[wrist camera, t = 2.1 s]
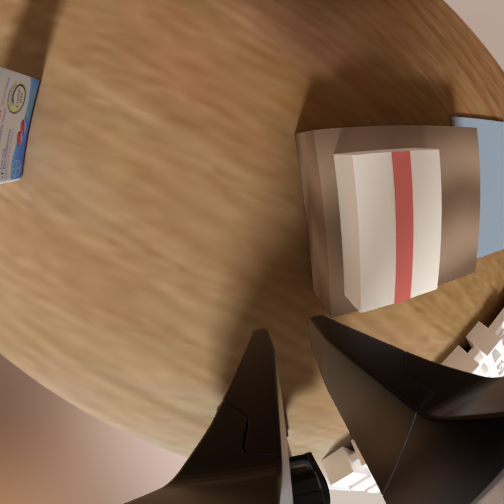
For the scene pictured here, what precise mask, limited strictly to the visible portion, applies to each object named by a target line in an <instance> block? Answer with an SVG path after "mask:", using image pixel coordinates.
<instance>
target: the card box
mask: <svg viewBox="0 0 504 504" xmlns="http://www.w3.org/2000/svg"><path fill="white" fill-rule="evenodd" d="M333 155H334V163H335V171H336V180H337V189H338V199H339V210H340V222H341V235H342V250H343V269H344V295H345V296H346V297H347V298H348V300H349V301H350V302H351V303H352V304H353V305H354V306H355V308H356V309H357V310H358V311H359V312H360V313H363V312H367V311H370V310H373V309H377V308H380V307H383V306H387V305H390V304H393V303H395V304H396V303H399V302H402V301H406V300H409V299H410V298H412V297H415V296H418V295H421V294H424V293H427V292H430V291H432V290H435V289H437V285H438V275H439V263H440V248H441V221H442V195H441V169H440V154H439V149H426V148H402V149H386V150H373V151H361V152H350V153H340V154H333Z"/></svg>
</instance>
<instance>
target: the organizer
mask: <svg viewBox="0 0 504 504" xmlns="http://www.w3.org/2000/svg"><path fill="white" fill-rule="evenodd" d="M466 339H467V341H468V343H469V345H470V347H471V350H470V351H469V352H468V353H467V352H466V351H465V350H464V349H462V348H461V347H460V346H459V345H458V346H457V347H456V348H455V349H454V350H453V351H452V353H451V354H450V355H449V356H448V357H447V358H446V359H445V360H444V361H443V362H442V363H441V364H442V365H445V366H448V367H451V368H455V369H458V370H462V371H465V372H469V373H473V374H476V375H480V376H484V377H502V376H504V308H503V309H502V311H501V312H500V313H499V315H498V316H497V317H496V319H495V320H494V321H493V322H492V324H491V325H490V326H489V328H487V327H486V326H485V325H483V324H482V323H481V322H480V321H478V323H477V324H476V325H475V326H474V328H473V329H472V330H471V331H470V332H469V333H468V335H467V336H466ZM351 443H352V445H353V447H354V450H355V451H353V450H350V449H348V448H345V447H343V446H342V447H341V448H339V449H338V450H336V451H335V452H333V453H332V454H330V455H329V456H327V457H326V458H324V459H323V460H322V462H323V465H324V468H325V471H326V473H327V476H328V479H329V482H330V484H331V485H332V486H336V487H341V488H346V487H348V486H349V488H350V489H352V490H358V491H363V490H366V492H371V493H377V492H379V491H380V490H379V488H378V486H377V484H376V482H375V480H374V478H373V476H372V474H371V472H370V470H369V468H368V467H367V465H366V463H365V461H364V459H363V457H362V455H361V453H360V451H359V449H358V447H357V445H356V443H355V442H354V440H353V439H352V440H351Z"/></svg>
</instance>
